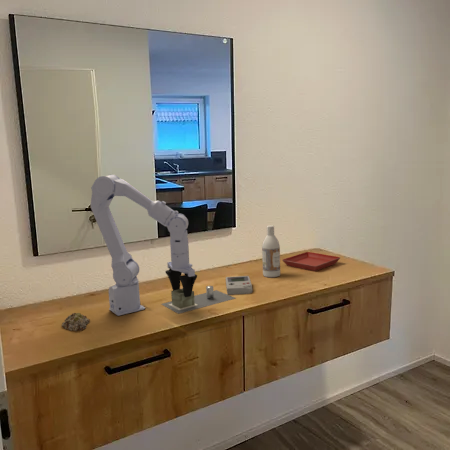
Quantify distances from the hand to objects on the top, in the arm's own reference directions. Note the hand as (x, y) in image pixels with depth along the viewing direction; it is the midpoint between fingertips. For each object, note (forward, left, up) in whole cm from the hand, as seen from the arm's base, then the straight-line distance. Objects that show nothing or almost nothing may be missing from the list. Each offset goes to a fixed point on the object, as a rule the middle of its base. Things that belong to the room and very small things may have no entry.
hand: (182, 293), depth 147 cm
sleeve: (0, 0, -4) cm, 4 cm away
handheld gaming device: (+25, +3, -6) cm, 26 cm away
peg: (+11, 0, -4) cm, 11 cm away
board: (+6, 0, -5) cm, 8 cm away
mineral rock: (-32, +8, -5) cm, 34 cm away
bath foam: (+46, +10, -5) cm, 47 cm away
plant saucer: (+69, +11, -6) cm, 70 cm away
